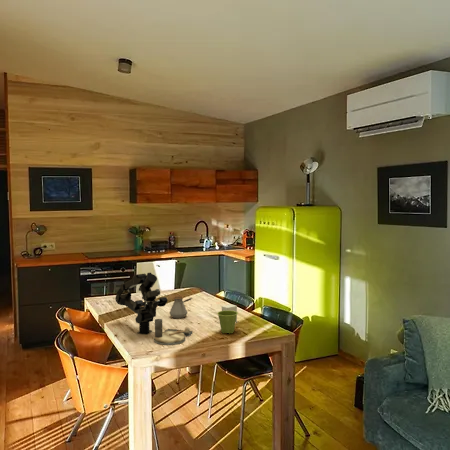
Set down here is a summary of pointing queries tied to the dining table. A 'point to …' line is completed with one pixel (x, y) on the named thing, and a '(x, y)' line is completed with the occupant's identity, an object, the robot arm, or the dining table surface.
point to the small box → (230, 308)
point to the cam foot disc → (168, 333)
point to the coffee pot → (179, 308)
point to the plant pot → (227, 321)
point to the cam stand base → (174, 342)
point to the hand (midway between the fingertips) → (155, 316)
